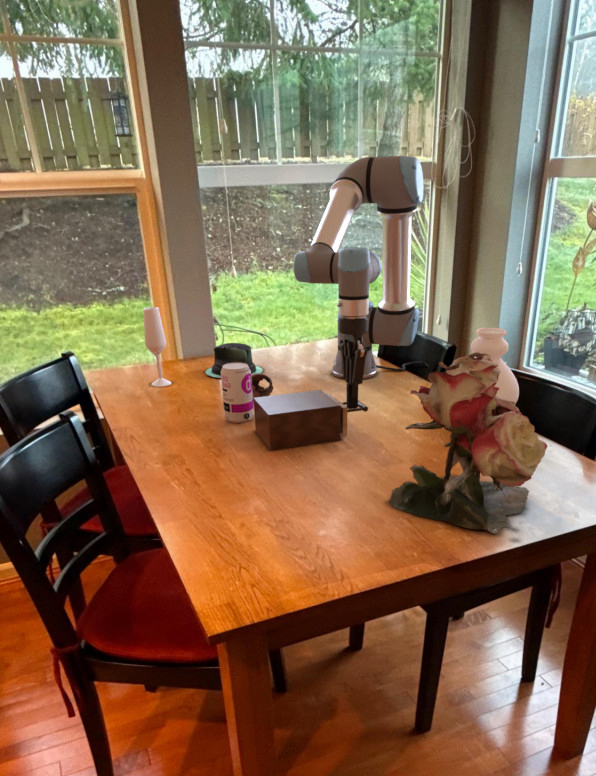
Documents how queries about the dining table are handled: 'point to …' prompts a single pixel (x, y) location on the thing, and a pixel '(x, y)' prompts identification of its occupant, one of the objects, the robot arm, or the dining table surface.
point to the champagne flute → (155, 339)
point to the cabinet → (297, 419)
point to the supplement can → (237, 392)
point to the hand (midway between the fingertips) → (352, 407)
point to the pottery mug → (259, 390)
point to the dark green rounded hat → (232, 358)
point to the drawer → (344, 413)
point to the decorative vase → (497, 360)
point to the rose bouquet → (473, 449)
